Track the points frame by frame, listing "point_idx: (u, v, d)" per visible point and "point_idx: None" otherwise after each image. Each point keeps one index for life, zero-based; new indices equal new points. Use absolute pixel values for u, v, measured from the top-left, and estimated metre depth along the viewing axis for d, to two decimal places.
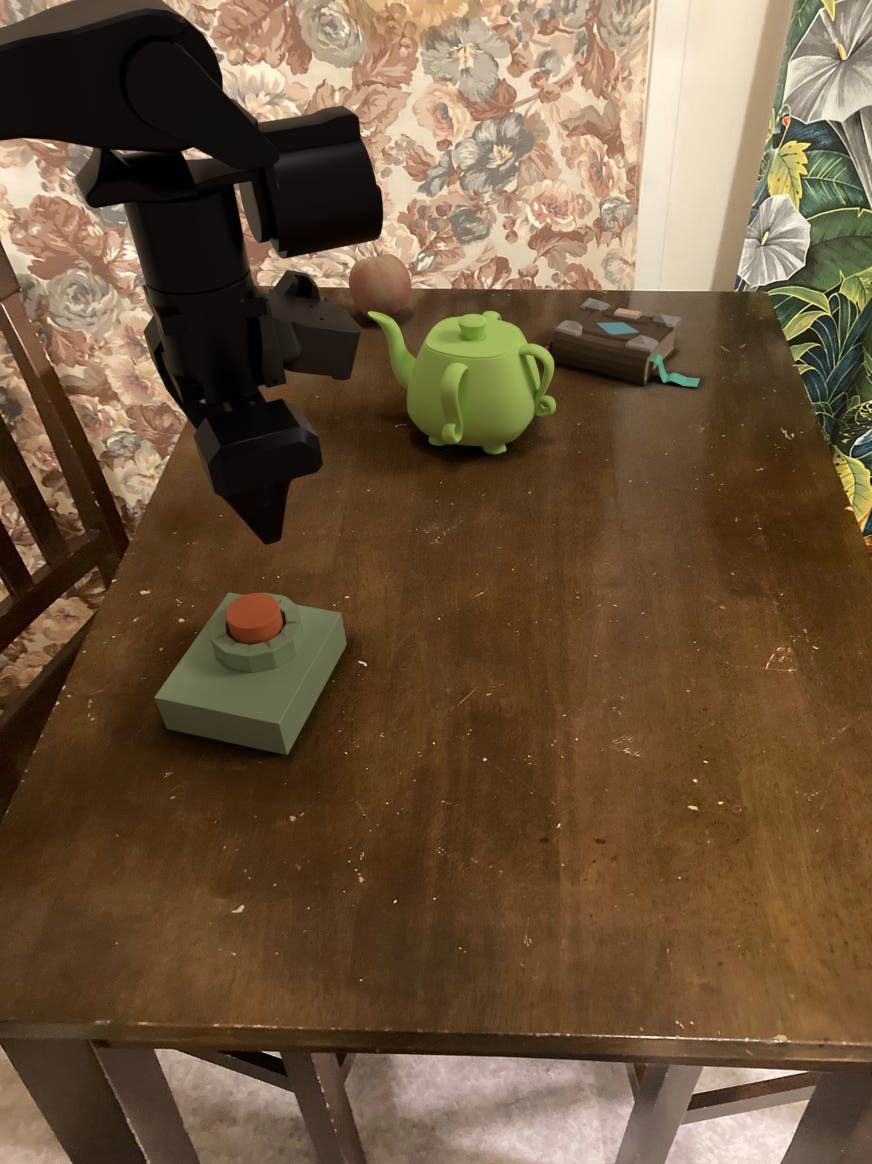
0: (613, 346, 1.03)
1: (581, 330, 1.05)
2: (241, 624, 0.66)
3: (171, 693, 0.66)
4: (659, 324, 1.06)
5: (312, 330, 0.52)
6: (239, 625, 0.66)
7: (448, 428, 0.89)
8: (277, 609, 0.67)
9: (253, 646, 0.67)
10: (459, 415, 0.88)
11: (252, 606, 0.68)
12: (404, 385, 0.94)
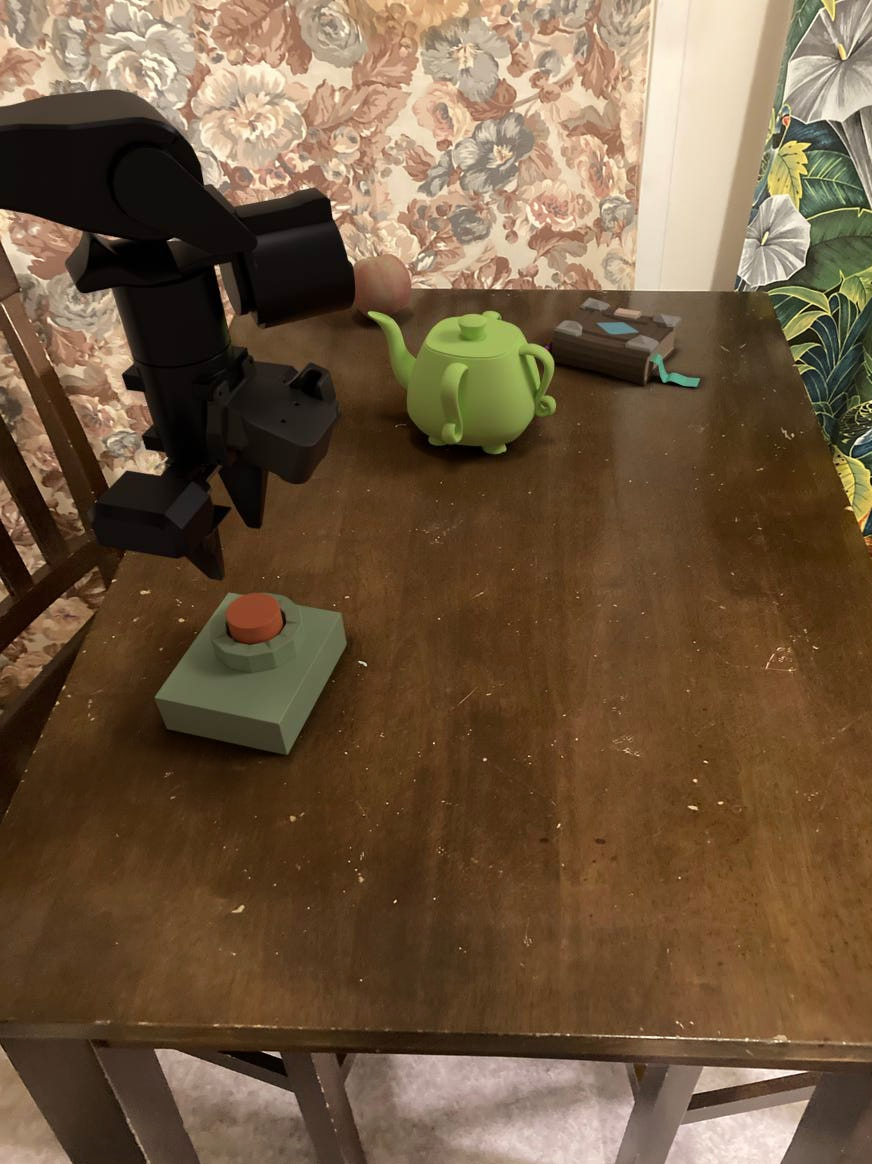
0: (613, 346, 1.03)
1: (581, 330, 1.05)
2: (241, 624, 0.66)
3: (171, 693, 0.66)
4: (659, 324, 1.06)
5: (257, 429, 0.52)
6: (239, 625, 0.66)
7: (448, 428, 0.89)
8: (277, 609, 0.67)
9: (253, 646, 0.67)
10: (459, 415, 0.88)
11: (252, 606, 0.68)
12: (404, 385, 0.94)
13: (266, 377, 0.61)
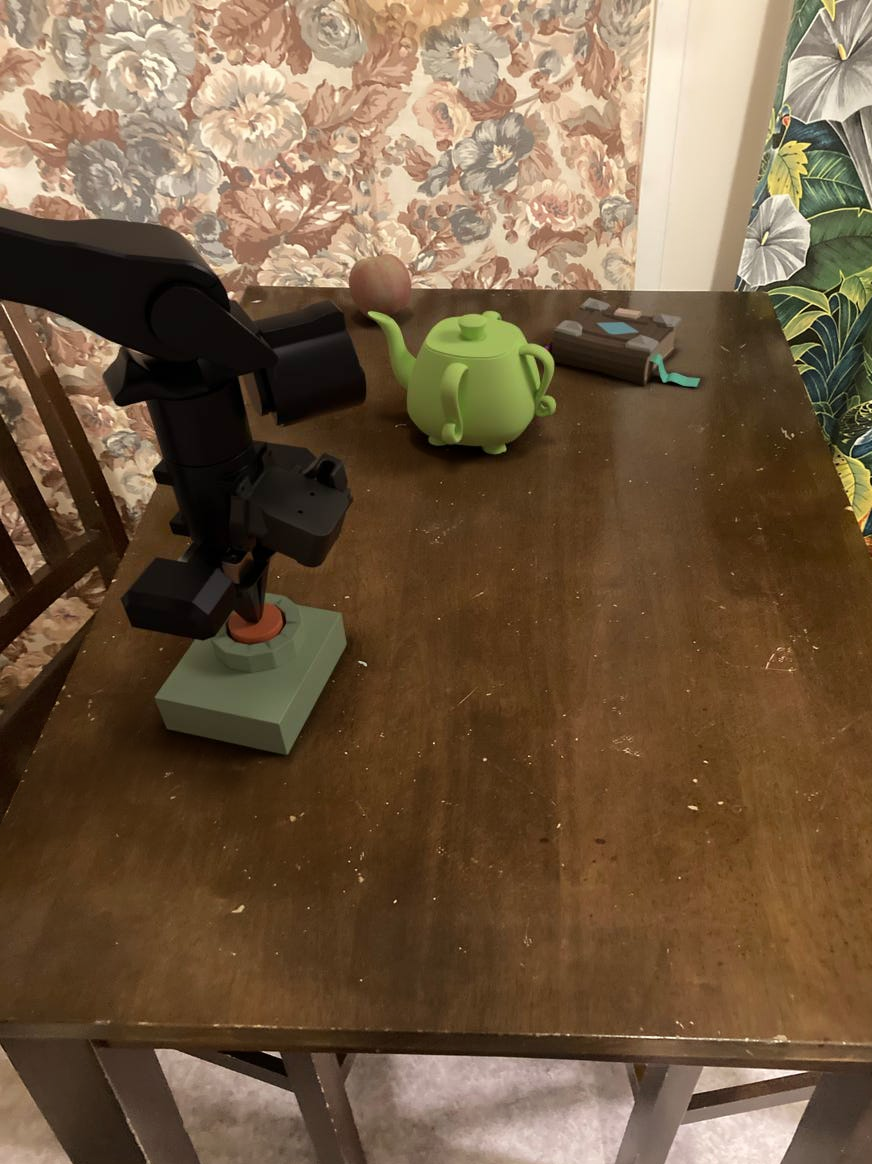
0: (613, 346, 1.03)
1: (581, 330, 1.05)
2: (244, 633, 0.67)
3: (171, 693, 0.66)
4: (659, 324, 1.06)
5: (276, 521, 0.57)
6: (242, 634, 0.67)
7: (448, 428, 0.89)
8: (279, 618, 0.68)
9: (253, 646, 0.67)
10: (459, 415, 0.88)
11: None
12: (404, 385, 0.94)
13: (282, 460, 0.65)
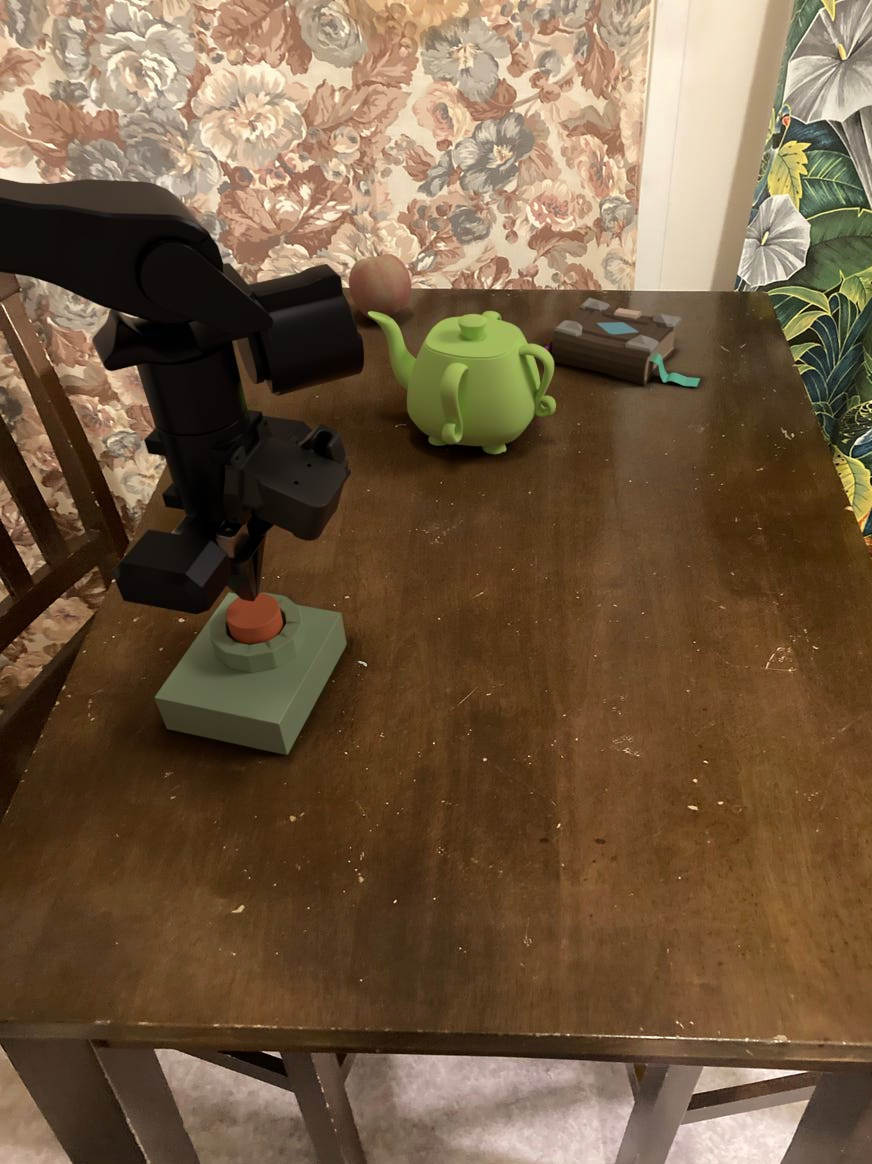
0: (613, 346, 1.03)
1: (581, 330, 1.05)
2: (241, 624, 0.66)
3: (171, 693, 0.66)
4: (659, 324, 1.06)
5: (272, 491, 0.55)
6: (239, 625, 0.66)
7: (448, 428, 0.89)
8: (277, 609, 0.67)
9: (253, 646, 0.67)
10: (459, 415, 0.88)
11: (252, 606, 0.68)
12: (404, 385, 0.94)
13: (278, 433, 0.64)
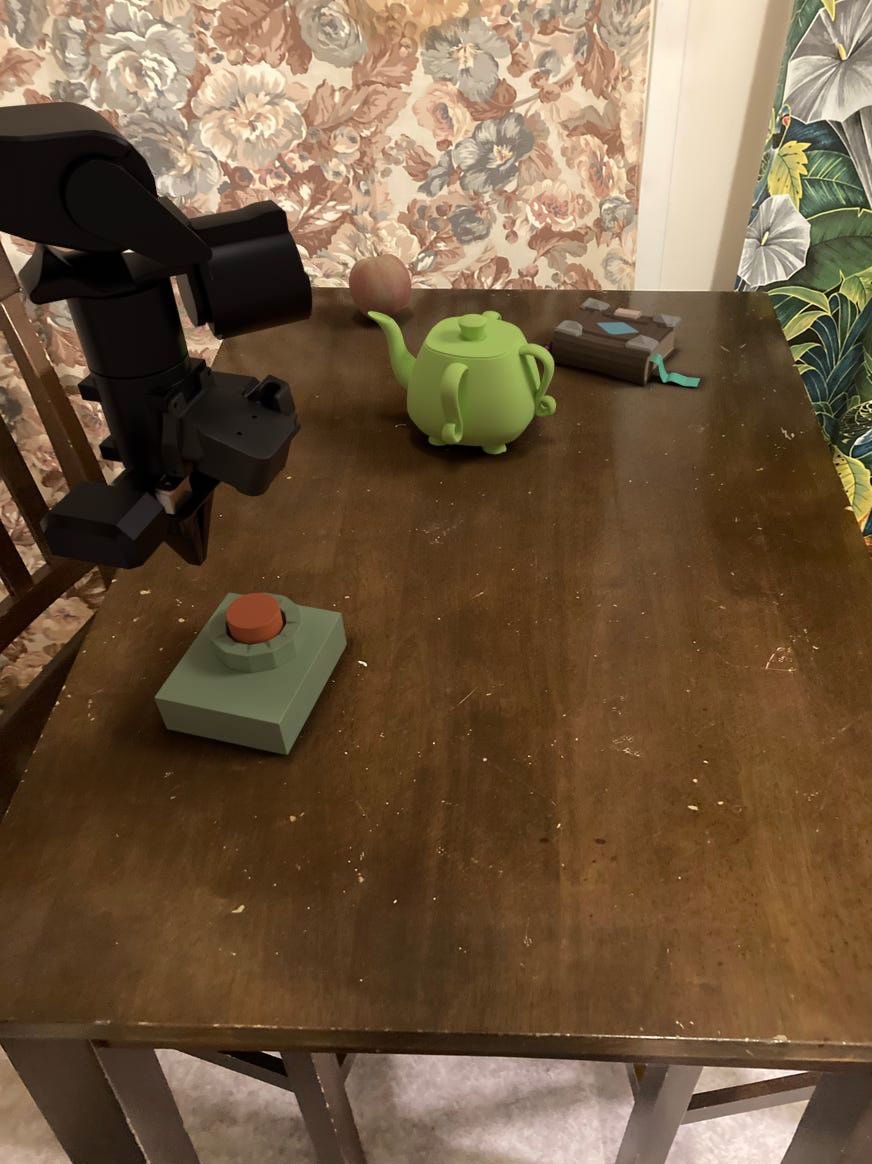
0: (613, 346, 1.03)
1: (581, 330, 1.05)
2: (241, 624, 0.66)
3: (171, 693, 0.66)
4: (659, 324, 1.06)
5: (212, 441, 0.52)
6: (239, 625, 0.66)
7: (448, 428, 0.89)
8: (277, 609, 0.67)
9: (253, 646, 0.67)
10: (459, 415, 0.88)
11: (252, 606, 0.68)
12: (404, 385, 0.94)
13: (228, 388, 0.61)
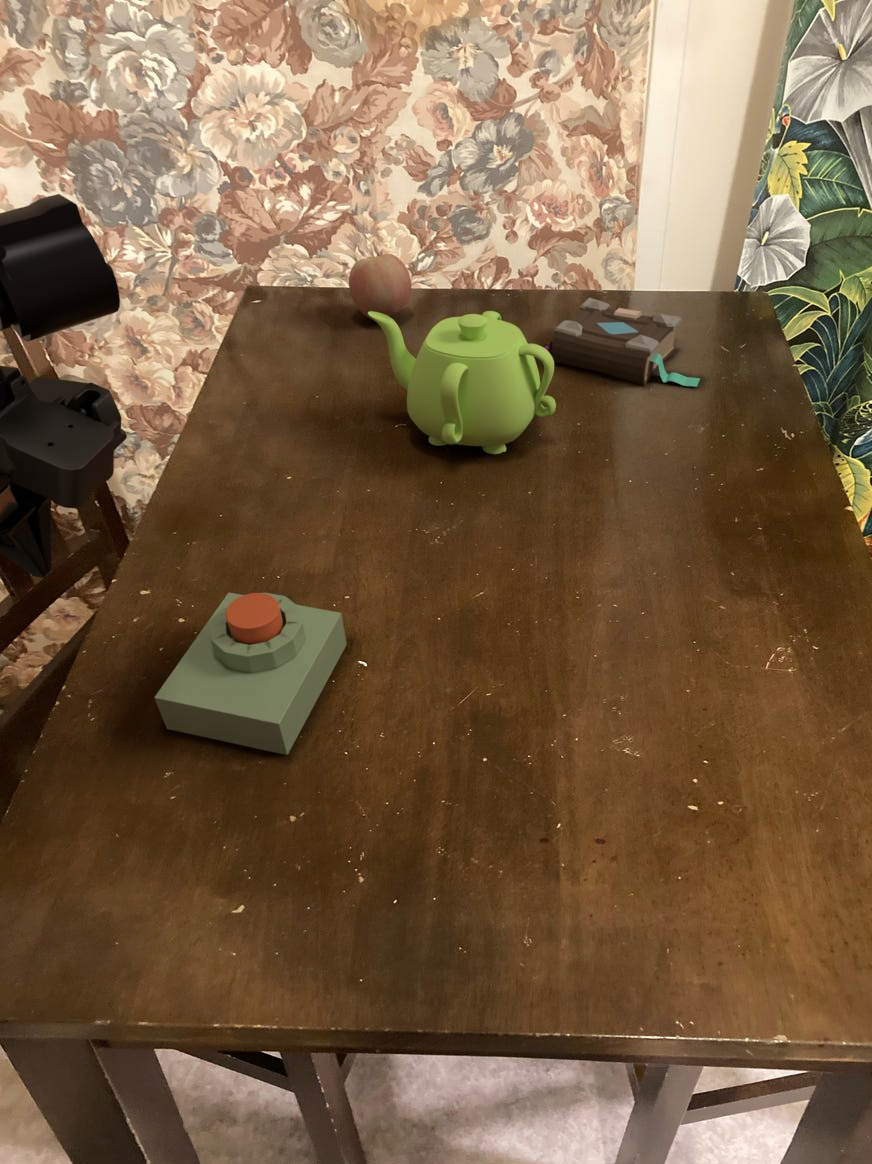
0: (613, 346, 1.03)
1: (581, 330, 1.05)
2: (241, 624, 0.66)
3: (171, 693, 0.66)
4: (659, 324, 1.06)
5: (20, 453, 0.51)
6: (239, 625, 0.66)
7: (448, 428, 0.89)
8: (277, 609, 0.67)
9: (253, 646, 0.67)
10: (459, 415, 0.88)
11: (252, 606, 0.68)
12: (404, 385, 0.94)
13: (63, 396, 0.59)
